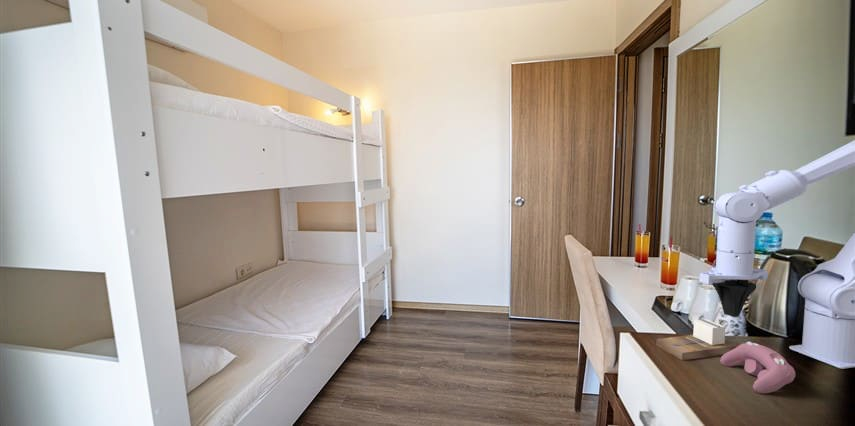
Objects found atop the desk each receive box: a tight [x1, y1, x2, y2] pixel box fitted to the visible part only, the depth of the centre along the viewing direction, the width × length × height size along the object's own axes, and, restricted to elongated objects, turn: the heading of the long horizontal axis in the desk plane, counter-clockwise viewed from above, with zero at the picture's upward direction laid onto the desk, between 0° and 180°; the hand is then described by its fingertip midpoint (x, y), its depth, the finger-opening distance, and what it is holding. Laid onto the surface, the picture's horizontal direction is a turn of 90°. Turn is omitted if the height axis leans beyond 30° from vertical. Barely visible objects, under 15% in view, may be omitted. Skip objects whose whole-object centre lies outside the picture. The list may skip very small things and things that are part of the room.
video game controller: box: [719, 341, 796, 394], centre depth 59 cm, size 10×5×7 cm, turn 169°
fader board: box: [655, 334, 739, 361], centre depth 70 cm, size 13×6×2 cm, turn 100°
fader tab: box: [692, 318, 726, 345], centre depth 70 cm, size 3×4×4 cm
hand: (731, 315), depth 71 cm, fingers closed
